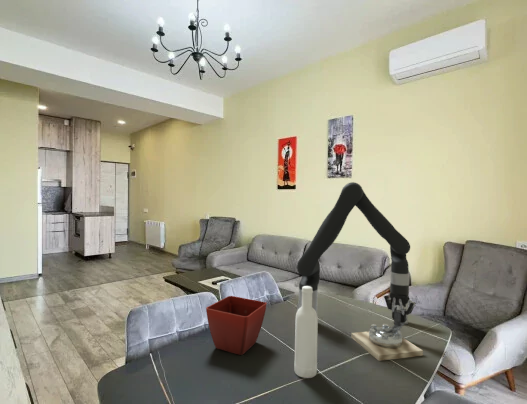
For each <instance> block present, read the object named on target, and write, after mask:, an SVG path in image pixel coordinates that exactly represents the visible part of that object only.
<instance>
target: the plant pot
mask: <svg viewBox="0 0 527 404" xmlns="http://www.w3.org/2000/svg"><path fill="white" fill-rule="evenodd" d="M205 310H206V311H205V313H206V318H207V323H208V328H209V331H210V336H211V338H212V341H213V344H214V347H215V349H217V350H222V351H225V352H228V353H231V354H235V355H240V356H243V355H244V354H245V353H247V352H248V351H249V349H251V348H252V347H253V346H254V345H255V344H256V343H257V340H258V338H259V335H260V332H261V329H262V326H263V324H264V323H263V322H264V319H265V314H266V310H267V302H266V301H261V300H255V299H250V298H245V297H239V296H234V295H228V296H226V297H224V298H222V299H220V300H218V301H217V302H214V303H213V304H211V305H208V306H206V307H205Z"/></svg>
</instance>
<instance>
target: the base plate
mask: <svg viewBox="0 0 527 404" xmlns="http://www.w3.org/2000/svg"><path fill="white" fill-rule="evenodd" d="M350 337H351V338H352V340H354V341H355V342H356V343H357V344H358V345H360V346H361V348H363V349H364V350H365V351H366V352H368V353H369V354H370V355H371V356H372V357H373V358H375V359H376V360H377V361H379V362H380V361H387V360H388V361H389V360H397V359H406V358H413V357H421V356H422V357H423V356H424V350H423V349H421V348H420V347H418V346H416V345H415V344H413V343H412V342H410V341H409V340H407V338H404V337H403V336H402V345H401V346H400V347H398V348H386V347H382V346H378V345H376V344H374V343H372V342H371V341H370V340H369V330H368V331H359V332H358V331H357V332H351V336H350Z"/></svg>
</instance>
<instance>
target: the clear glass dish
mask: <svg viewBox="0 0 527 404" xmlns="http://www.w3.org/2000/svg"><path fill="white" fill-rule="evenodd" d="M401 315H402V311H401V310H395V311H394V320H393V324H394V325H392V326H389V324H387V323H382V326H378V325H377V324H375V323H372V324H370V325H369V330H368V331H369V340H370V341H371V342H372V343H374V344H376V345H378V346H382V347H386V348H398V347H400V346H401V345H402V337H403V334H402V330H401V329H402V328H403V326H405V325H404V323H401Z"/></svg>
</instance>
